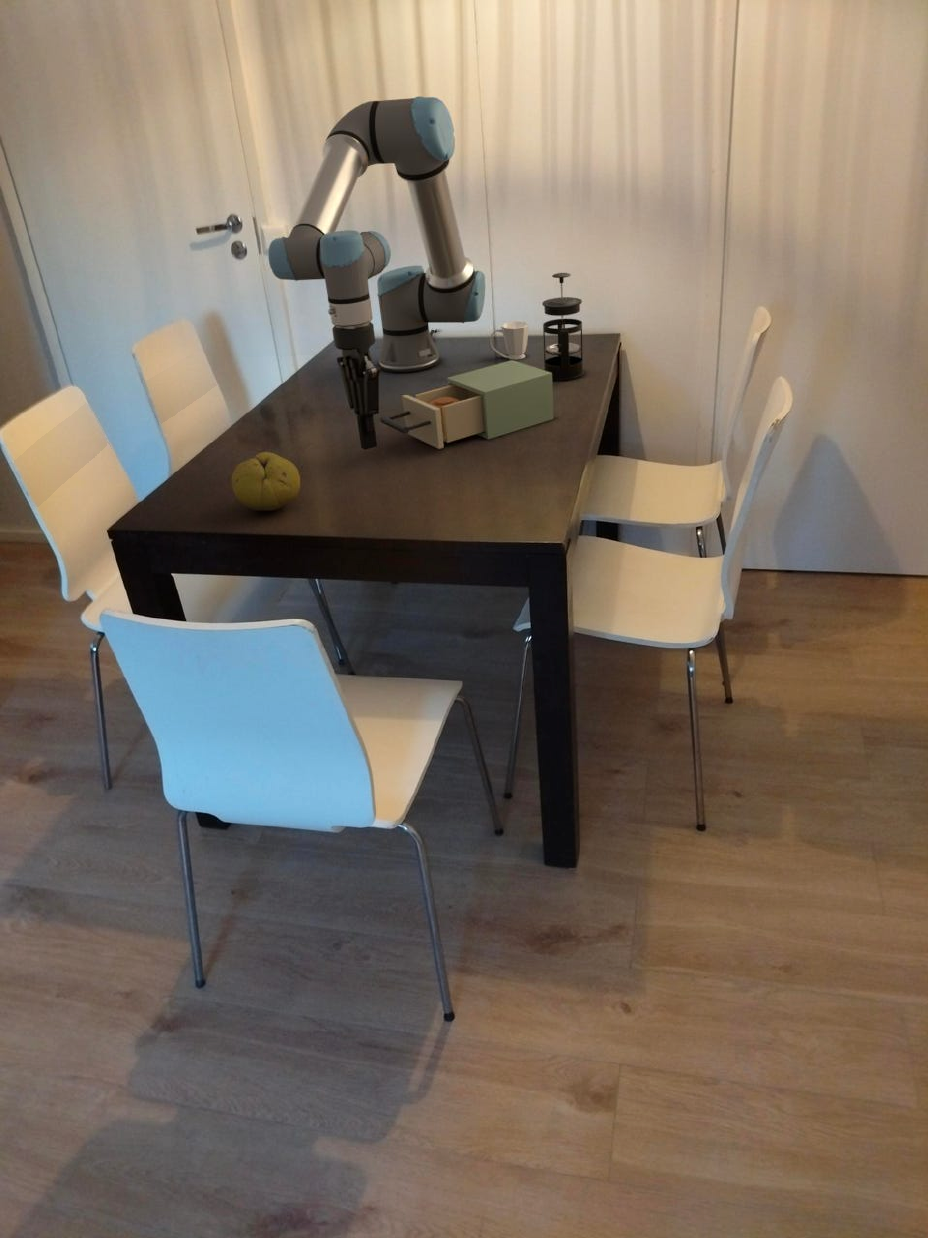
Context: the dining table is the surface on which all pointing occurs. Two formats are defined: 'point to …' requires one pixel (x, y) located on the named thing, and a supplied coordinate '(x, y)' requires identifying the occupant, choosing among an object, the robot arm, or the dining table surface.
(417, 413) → the drawer
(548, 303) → the french press
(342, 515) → the dining table surface
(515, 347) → the cup
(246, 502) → the fruit
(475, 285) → the robot arm
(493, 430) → the cabinet
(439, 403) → the stepped orange cylinder
